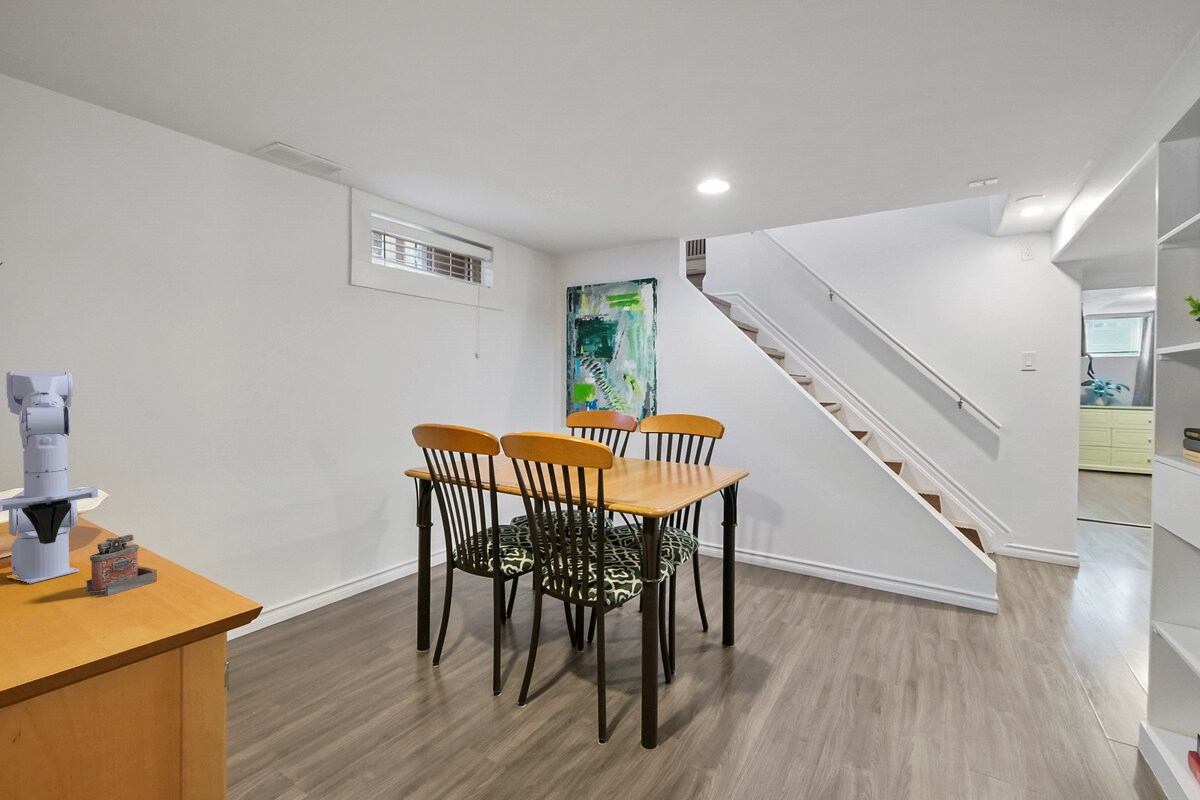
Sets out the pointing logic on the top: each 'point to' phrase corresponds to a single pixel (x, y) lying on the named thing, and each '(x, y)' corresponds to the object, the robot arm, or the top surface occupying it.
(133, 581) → the keeper
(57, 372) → the robot arm
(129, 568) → the lighter
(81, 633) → the top surface
